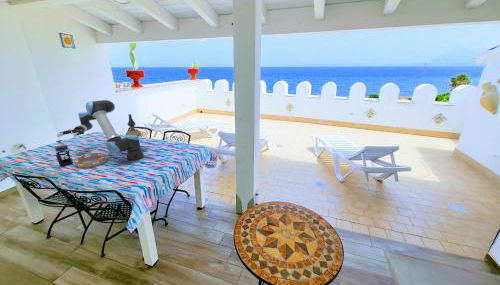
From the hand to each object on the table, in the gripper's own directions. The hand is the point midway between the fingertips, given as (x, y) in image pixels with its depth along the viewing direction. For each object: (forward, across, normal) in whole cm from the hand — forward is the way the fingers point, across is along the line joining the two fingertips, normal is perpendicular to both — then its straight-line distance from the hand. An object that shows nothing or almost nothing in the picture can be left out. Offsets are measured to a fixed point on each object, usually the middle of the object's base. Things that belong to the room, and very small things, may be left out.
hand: (65, 135), depth 187 cm
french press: (+10, 0, -25) cm, 27 cm away
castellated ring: (+8, -21, -24) cm, 33 cm away
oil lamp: (-19, -51, -25) cm, 59 cm away
